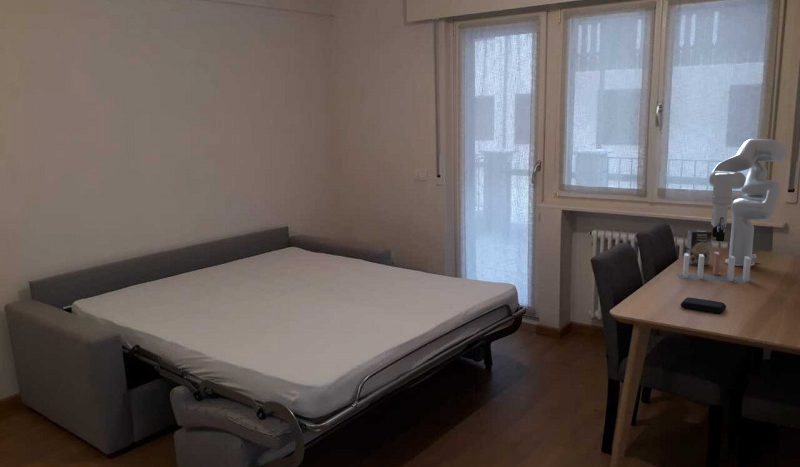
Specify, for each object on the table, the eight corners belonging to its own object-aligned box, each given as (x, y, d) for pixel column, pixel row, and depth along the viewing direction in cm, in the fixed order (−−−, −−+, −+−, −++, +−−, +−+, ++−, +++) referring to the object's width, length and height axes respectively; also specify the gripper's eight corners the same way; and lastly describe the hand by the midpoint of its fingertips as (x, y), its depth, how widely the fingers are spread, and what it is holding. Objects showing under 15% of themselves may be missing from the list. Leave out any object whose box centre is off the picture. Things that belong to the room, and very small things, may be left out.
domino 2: (698, 278, 272) (700, 256, 270) (697, 275, 276) (698, 254, 274) (702, 278, 271) (704, 256, 269) (701, 276, 276) (702, 254, 274)
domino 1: (683, 277, 274) (685, 255, 272) (682, 274, 278) (684, 253, 276) (687, 278, 273) (689, 256, 271) (686, 275, 278) (688, 253, 276)
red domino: (714, 275, 277) (716, 254, 275) (712, 273, 282) (714, 251, 280) (718, 276, 277) (720, 254, 275) (716, 273, 281) (718, 251, 279)
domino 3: (729, 280, 268) (731, 258, 266) (727, 277, 273) (729, 255, 271) (733, 280, 268) (735, 258, 266) (731, 277, 272) (733, 255, 270)
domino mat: (678, 279, 273) (678, 278, 273) (676, 274, 280) (676, 273, 280) (755, 283, 264) (755, 283, 264) (751, 279, 271) (751, 278, 271)
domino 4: (744, 281, 266) (746, 258, 264) (742, 278, 271) (744, 256, 269) (748, 281, 266) (751, 259, 264) (746, 278, 270) (748, 256, 268)
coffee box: (689, 264, 297) (692, 231, 294) (684, 261, 304) (687, 229, 300) (709, 264, 297) (712, 232, 293) (704, 261, 303) (706, 229, 300)
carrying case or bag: (727, 308, 234) (685, 302, 242) (727, 301, 233) (685, 294, 242) (722, 316, 225) (679, 309, 234) (723, 308, 225) (679, 301, 233)
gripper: (709, 198, 282) (705, 235, 285) (715, 203, 266) (711, 242, 269) (727, 199, 280) (723, 236, 283) (734, 203, 263) (730, 243, 267)
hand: (717, 239), depth 276 cm, fingers open, 9 cm apart
